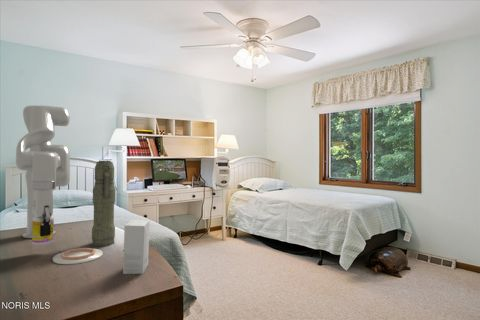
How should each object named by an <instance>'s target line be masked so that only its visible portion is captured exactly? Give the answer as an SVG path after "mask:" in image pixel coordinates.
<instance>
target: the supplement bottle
mask: <svg viewBox="0 0 480 320" xmlns="http://www.w3.org/2000/svg"><path fill="white" fill-rule="evenodd" d="M43 216H45V215H42V217H43ZM54 218H55V217H54V215H53V214H52V216H51V217H50V221H51V234H50V235H48V236H40V225H41V217H39V218H36V217H35V216H34V217H33V223H32V238H31V243H32V245H34V246H44V245H45V246H46V245H49V244H51V243H53V242H54V235H53V230H54V222H55V221H54V220H55V219H54ZM43 220H44V219H43Z"/></svg>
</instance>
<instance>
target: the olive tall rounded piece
mask: <svg viewBox="0 0 480 320" xmlns="http://www.w3.org/2000/svg"><path fill="white" fill-rule="evenodd" d="M114 180H115V166H114V162H113V161H112V160H98V161H96V163H95V167H94V186H93V189H92V204H93V225H92V227H91V228H92V229H91V241H92V242H91V245H92V246H93V247H107V246H111V245H113V244H115V238H116V226H115V224H114V223H115V218H114V217H115V203H116V186H115V181H114Z"/></svg>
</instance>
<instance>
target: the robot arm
mask: <svg viewBox="0 0 480 320" xmlns="http://www.w3.org/2000/svg"><path fill="white" fill-rule="evenodd" d="M22 115H23V116H22V117H23V122H24V124H25V127H26V129H27V131H28V133H26V134H25V135H24V136H22V137H21V138H20V139H19V141H18V142H17V145H16V150H15V151H16V152H15V164H16V167H17V168H18V170H21V171H25V183H26V191H27V193H26V194H27V195H26V196H27V200H26V201H27V204H26V205H27V206H26V207H27V208H26V210H27V211H26V213H27V214H26V215H27V216H26V217H27V218H26V231H25V232H24V233H22V238H25V239H32V223H33V217H34V216H35V217H36V218H39V217H41V225H40V236H48V235H50V234H51V221H50V217H51V216H52V215H53V214H54V195H53V194H54V193H53V192H54V190H56V188H58V187H59V188H60V187H61V188H62V187H67V186H68V185H69V184H70V182H71V181H70V180H71V164H70V163H71V162H70V159H71V158H70V150H69V148H68V147H67V146H66V145H64V144H52V140H53V139H54V137H55V135H56V134H55V131H56V130H55V127H67V126H69V124H70V119H71V117H70V112H69V110H68V109H67V108H65V107H62V106H60V107H59V106H52V105H41V104H40V105H35V104H34V105H27V106H25V107H23V111H22ZM28 149H29V150H28ZM42 215H45V216H43V217H42ZM43 219H44V220H43ZM54 235H56V230H55V229H53V236H54Z"/></svg>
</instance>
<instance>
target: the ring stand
mask: <svg viewBox="0 0 480 320" xmlns="http://www.w3.org/2000/svg"><path fill="white" fill-rule="evenodd" d="M102 256H103V251H102V250H101V249H97V248H90V247H79V248H73V249H68V250H66V251H62V252H60V253H57V254H56V255H54V256H53V257H52V262H53V263H55V264H58V265H77V264H86V263H88V262H89V263H90V262H93V261H95V260H98V259H100V258H101V257H102Z"/></svg>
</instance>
